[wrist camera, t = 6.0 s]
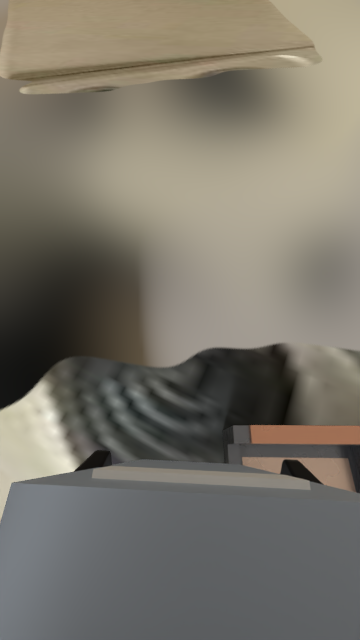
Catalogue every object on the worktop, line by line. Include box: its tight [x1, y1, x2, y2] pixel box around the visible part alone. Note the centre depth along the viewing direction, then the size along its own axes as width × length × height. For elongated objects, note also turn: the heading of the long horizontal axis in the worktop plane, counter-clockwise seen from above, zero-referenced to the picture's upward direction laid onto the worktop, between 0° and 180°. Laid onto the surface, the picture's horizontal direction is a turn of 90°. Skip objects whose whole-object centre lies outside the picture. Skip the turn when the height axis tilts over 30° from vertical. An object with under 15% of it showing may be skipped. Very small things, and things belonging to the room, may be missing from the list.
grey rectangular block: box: [0, 459, 360, 640], centre depth 8 cm, size 3×5×12 cm, turn 88°
